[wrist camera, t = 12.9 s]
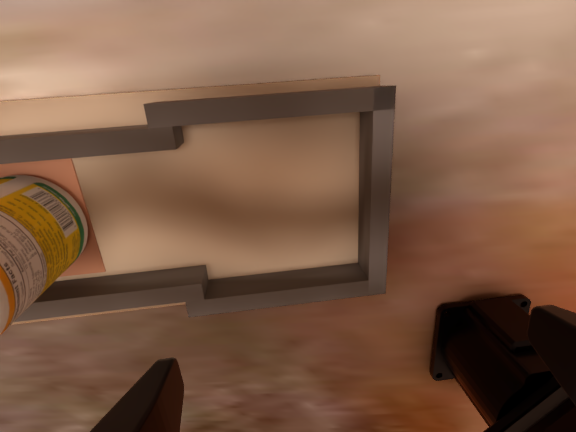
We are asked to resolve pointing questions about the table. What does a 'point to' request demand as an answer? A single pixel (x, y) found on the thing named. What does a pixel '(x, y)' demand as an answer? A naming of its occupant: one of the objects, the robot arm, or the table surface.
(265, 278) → the grey flat frame
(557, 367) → the robot arm
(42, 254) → the supplement bottle
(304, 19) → the table surface
